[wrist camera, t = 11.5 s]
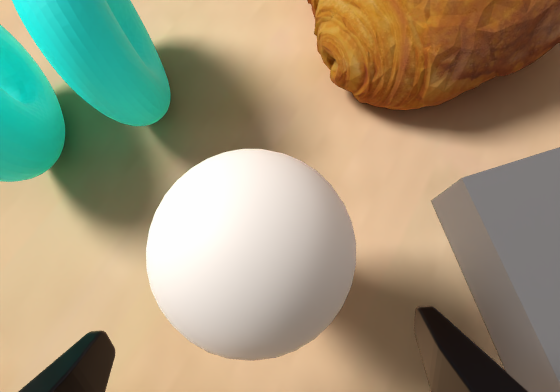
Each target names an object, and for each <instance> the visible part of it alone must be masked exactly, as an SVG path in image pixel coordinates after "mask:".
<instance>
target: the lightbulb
mask: <svg viewBox="0 0 560 392" xmlns="http://www.w3.org/2000/svg"><path fill="white" fill-rule="evenodd" d="M146 263H147V273H148V278H149V282H150V286H151V290H152V292H153V295H154V297H155V299H156V301H157V304H158V306H159V308H160V309H161V311H162V312H163V313H164V315H165V316H166V318H167V319H168V320H169V322H170V323H171V325H172V326H173V327H174V328H175V329H177V330H178V331H179V332H180V333H181V334H182V335H183V336H184V337H185V338H186V339H188V340H189V341H190V342H191V343H193V344H195V345H197V346H198V347H200V348H202V349H204V350H205V351H207V352H209V353H212V354H216V355H219V356H222V357H225V358H228V359H239V360H262V359H269V358H276V357H279V356H282V355H284V354H287V353H290V352H293V351H296V350H297V349H299V348H301V347H302V346H304V345H305V344H307V343H309V342H310V341H312V340H314V339H315V338H316V337H317V336H318V335H319V334H320V333H321V332H322V331H323V330H324V329H325V328H327V327H328V326H329V325H330V324H331V322H332V321H333V319H334V318H335V317H336V315H337V314H338V312H339V311H340V309H341V308H342V306H343V305H344V302H345V300H346V298H347V295H348V293H349V290H350V288H351V286H352V281H353V277H354V272H355V267H356V240H355V235H354V230H353V225H352V222H351V219H350V217H349V215H348V212H347V210H346V207H345V205H344V203H343V202H342V200H341V199H340V197H339V196H338V194H337V193H336V191H335V190H334V188H333V187H332V186H331V184H330V183H329V182H328V181H327V180H326V179H325V178H324V177H323V176H322V175H321V174H320V173H318V172H317V171H316V170H315V169H313V168H312V167H310V166H308V165H307V164H305V163H304V162H302V161H301V160H298V159H296V158H293V157H291V156H289V155H286V154H283V153H279V152H274V151H269V150H264V149H239V150H234V151H228V152H224V153H221V154H218V155H216V156H213V157H210V158H208V159H206V160H204V161H202V162H201V163H199V164H197V165H196V166H194V167H192V168H191V169H190V170H189V171H187V172H186V173H185V174H184V175H183V176H182V177H180V178H179V179H178V180H177V181H176V182H175V183H174V185H173V186H172V187H171V188H170V190H169V191H168V192H167V193H166V194H165V196H164V198H163V200H162V201H161V203H160V205H159V207H158V208H157V210H156V212H155V215H154V218H153V221H152V224H151V226H150V229H149V234H148V241H147V247H146Z"/></svg>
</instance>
